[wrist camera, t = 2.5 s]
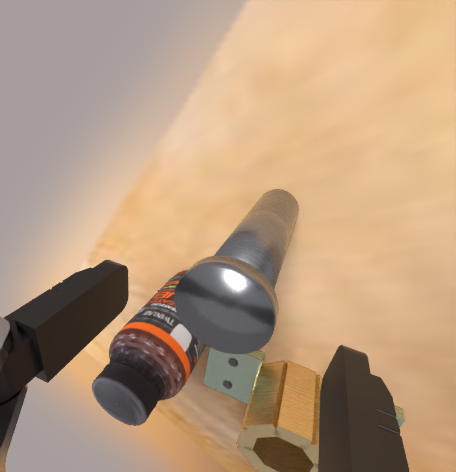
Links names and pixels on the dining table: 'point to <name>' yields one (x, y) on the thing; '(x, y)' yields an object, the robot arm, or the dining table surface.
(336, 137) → the dining table surface
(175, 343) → the supplement bottle
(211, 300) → the steel pin
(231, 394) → the hinge body
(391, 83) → the dining table surface
